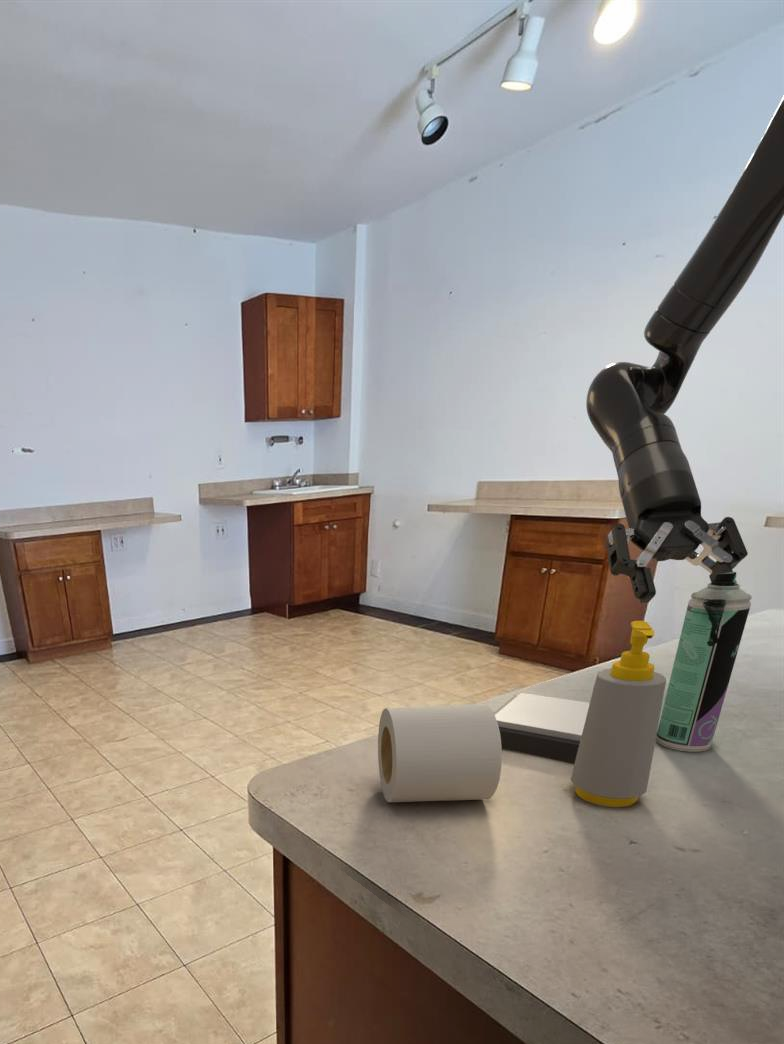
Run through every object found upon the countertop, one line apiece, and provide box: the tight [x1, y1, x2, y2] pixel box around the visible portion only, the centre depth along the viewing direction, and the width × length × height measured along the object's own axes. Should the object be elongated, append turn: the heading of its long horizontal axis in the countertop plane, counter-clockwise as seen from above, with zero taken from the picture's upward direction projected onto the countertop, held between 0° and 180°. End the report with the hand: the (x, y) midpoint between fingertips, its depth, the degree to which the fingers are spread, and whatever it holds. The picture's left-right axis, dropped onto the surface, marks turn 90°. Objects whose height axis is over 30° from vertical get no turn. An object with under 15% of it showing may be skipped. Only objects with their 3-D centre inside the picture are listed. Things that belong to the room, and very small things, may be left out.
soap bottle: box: [570, 620, 667, 808], centre depth 63 cm, size 7×7×18 cm
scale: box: [494, 692, 590, 764], centre depth 80 cm, size 16×14×3 cm
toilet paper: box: [377, 703, 503, 803], centre depth 67 cm, size 10×10×10 cm
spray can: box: [655, 571, 753, 753], centre depth 73 cm, size 6×6×20 cm
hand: (687, 597), depth 76 cm, fingers open, 8 cm apart
